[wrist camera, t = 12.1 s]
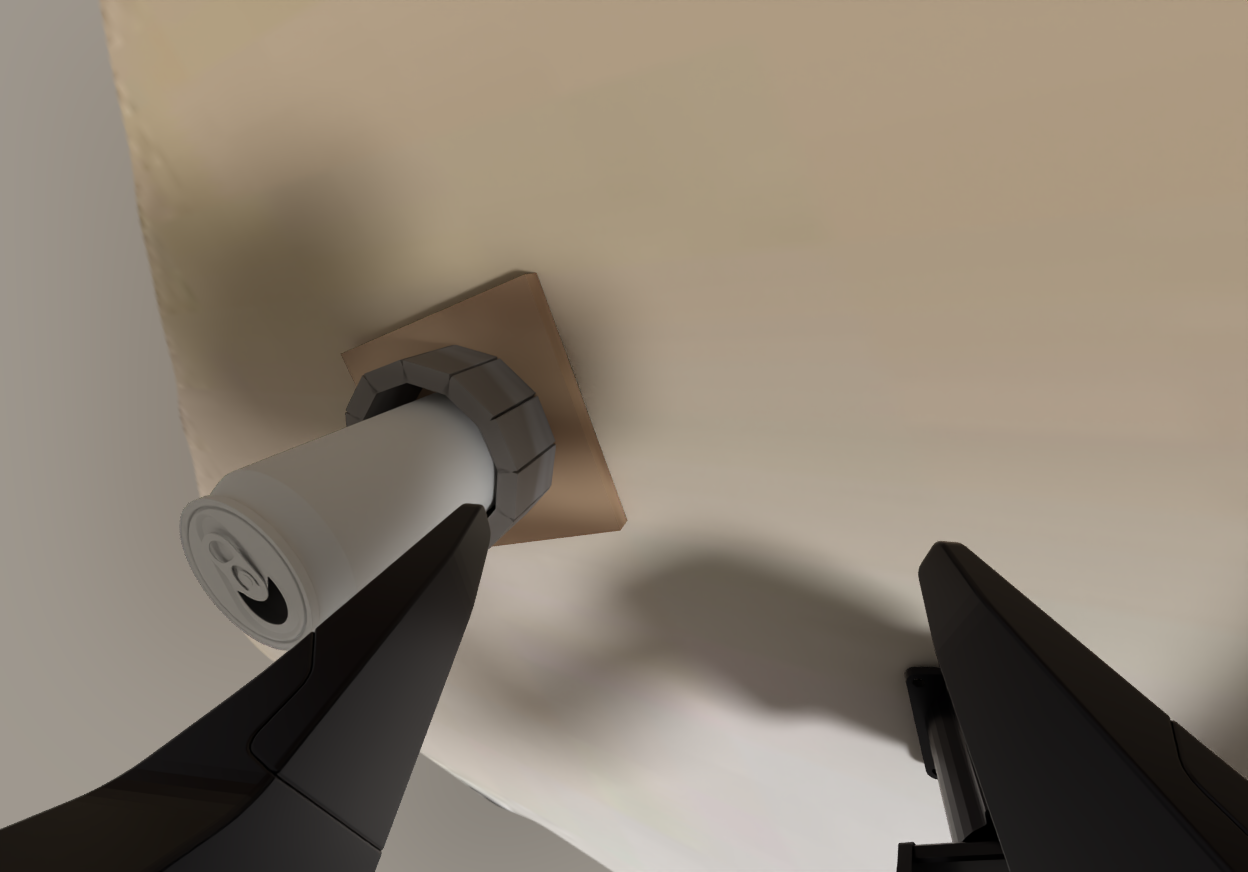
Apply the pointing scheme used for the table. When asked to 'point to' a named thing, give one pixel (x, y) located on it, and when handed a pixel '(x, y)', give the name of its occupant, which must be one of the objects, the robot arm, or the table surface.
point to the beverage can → (332, 515)
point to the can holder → (502, 406)
